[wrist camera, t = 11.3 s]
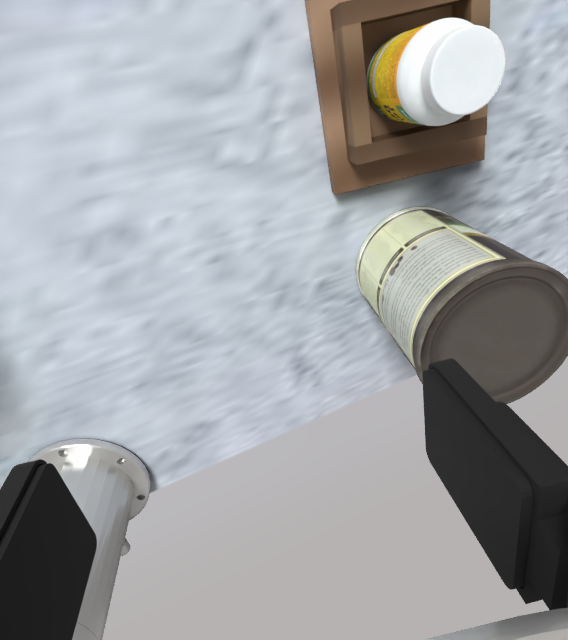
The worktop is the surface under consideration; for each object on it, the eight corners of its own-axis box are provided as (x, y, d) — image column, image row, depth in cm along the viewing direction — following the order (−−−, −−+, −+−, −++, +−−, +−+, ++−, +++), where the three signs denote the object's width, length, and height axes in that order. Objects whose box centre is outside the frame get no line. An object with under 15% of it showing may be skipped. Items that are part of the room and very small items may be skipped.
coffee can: (475, 201, 36) (605, 256, 24) (456, 309, 41) (556, 402, 29) (356, 208, 35) (429, 270, 23) (351, 319, 40) (408, 419, 28)
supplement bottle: (447, 39, 29) (537, 16, 21) (427, 124, 32) (500, 135, 23) (372, 27, 29) (434, -1, 20) (357, 116, 31) (407, 123, 22)
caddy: (476, 157, 35) (502, 164, 31) (331, 191, 34) (343, 201, 31) (480, -66, 28) (514, -87, 25) (301, -26, 28) (311, -41, 24)
